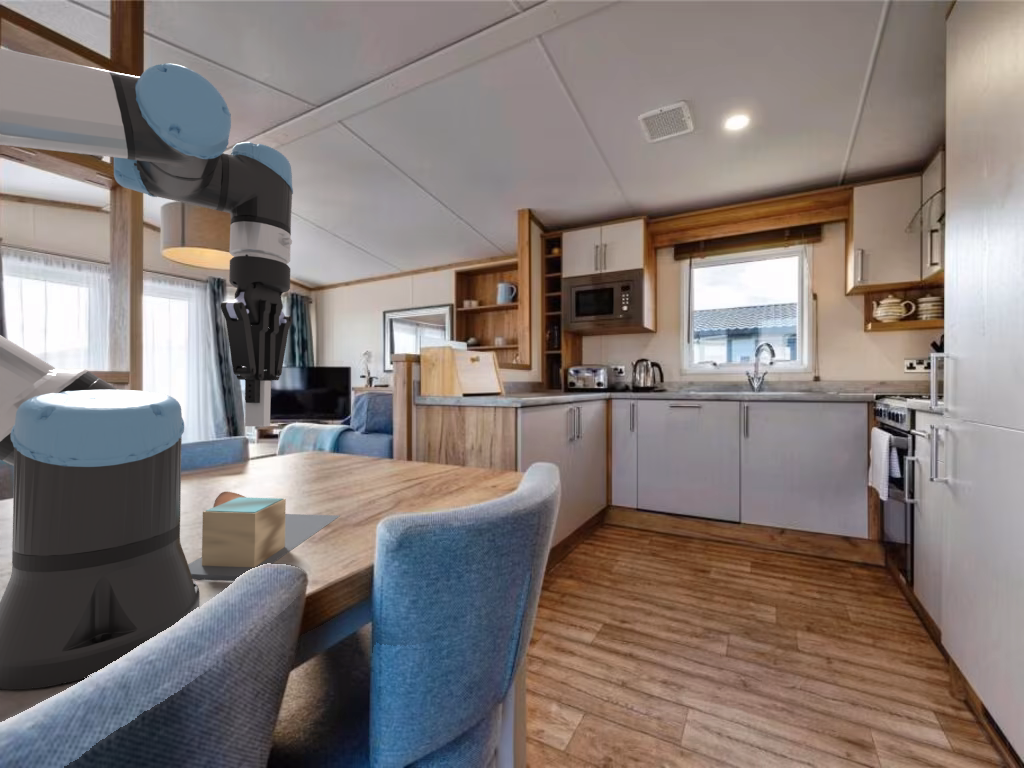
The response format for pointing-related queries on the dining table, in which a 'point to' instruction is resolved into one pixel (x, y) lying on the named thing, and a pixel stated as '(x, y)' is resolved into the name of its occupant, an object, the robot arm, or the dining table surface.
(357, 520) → the dining table surface
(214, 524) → the maple cube
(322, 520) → the mat
